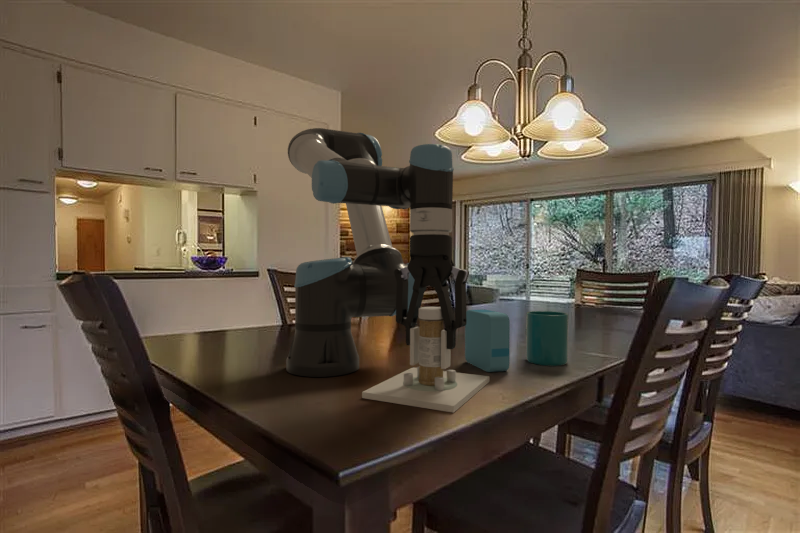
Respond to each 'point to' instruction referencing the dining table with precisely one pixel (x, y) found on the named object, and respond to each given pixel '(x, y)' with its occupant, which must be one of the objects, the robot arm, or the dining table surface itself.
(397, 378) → the pin tray
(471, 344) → the data package
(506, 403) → the dining table surface
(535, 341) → the cup
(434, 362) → the sprinkles bottle
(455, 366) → the dining table surface
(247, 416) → the dining table surface
